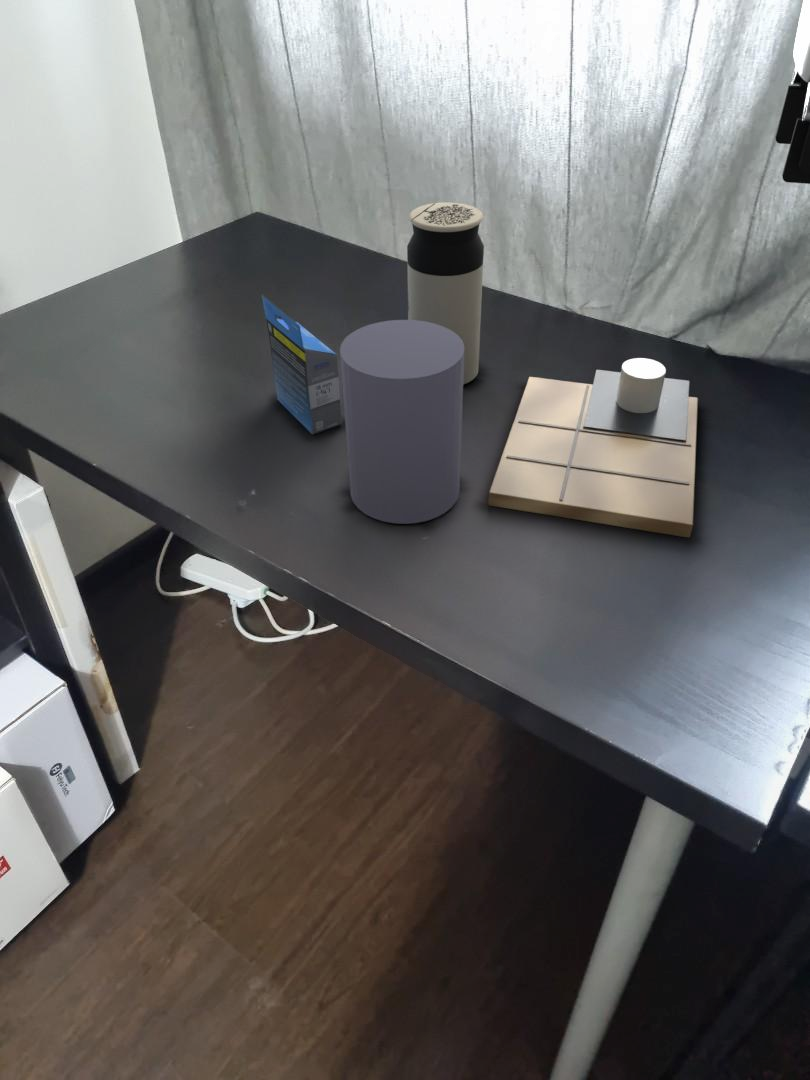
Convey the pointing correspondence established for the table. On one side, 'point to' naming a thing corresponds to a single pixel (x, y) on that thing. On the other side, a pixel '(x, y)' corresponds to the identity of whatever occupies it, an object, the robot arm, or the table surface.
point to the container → (403, 418)
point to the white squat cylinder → (640, 385)
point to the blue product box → (303, 372)
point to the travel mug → (448, 273)
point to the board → (601, 456)
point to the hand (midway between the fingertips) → (800, 161)
